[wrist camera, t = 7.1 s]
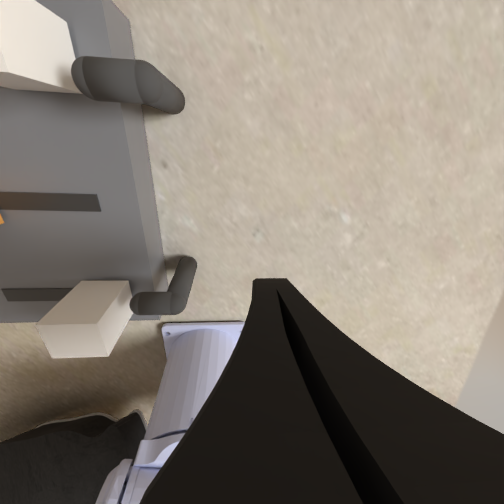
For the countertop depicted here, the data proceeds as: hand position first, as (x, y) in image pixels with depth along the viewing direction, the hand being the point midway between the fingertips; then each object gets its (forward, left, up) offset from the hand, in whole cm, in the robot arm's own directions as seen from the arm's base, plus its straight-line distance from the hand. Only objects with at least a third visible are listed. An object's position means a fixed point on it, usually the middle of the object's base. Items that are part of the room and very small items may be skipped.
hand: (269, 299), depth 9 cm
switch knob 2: (-4, +10, -6) cm, 13 cm away
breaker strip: (+2, +13, -9) cm, 16 cm away
